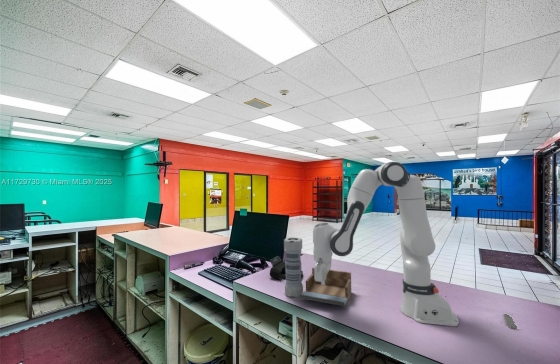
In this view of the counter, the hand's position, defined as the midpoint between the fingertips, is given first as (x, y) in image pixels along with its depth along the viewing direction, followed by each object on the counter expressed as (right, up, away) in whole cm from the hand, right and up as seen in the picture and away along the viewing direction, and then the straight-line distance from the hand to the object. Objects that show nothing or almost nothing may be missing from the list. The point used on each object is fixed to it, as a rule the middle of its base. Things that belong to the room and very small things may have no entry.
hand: (323, 283), depth 120 cm
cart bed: (+5, -11, +12) cm, 17 cm away
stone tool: (+78, -10, -16) cm, 80 cm away
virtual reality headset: (-17, -12, +39) cm, 44 cm away
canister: (-14, -11, +14) cm, 23 cm away
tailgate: (+2, -8, +5) cm, 9 cm away
